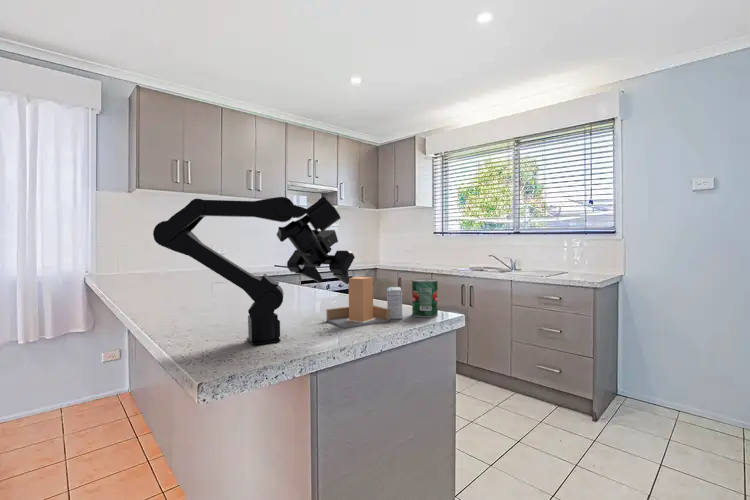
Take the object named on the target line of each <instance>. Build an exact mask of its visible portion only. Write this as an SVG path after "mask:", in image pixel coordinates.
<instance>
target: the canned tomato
mask: <svg viewBox="0 0 750 500" xmlns="http://www.w3.org/2000/svg"><path fill="white" fill-rule="evenodd" d="M438 282H439V281H438V279H436V278H413V279H411V293H412V297H411V307H412V309H411V311H412V312H411V313H412V314H411V315H412V317H416V318H434V317H435V318H436V317H437V316H438V315H439V314H438V311H439V310H438V306H439V303H438V302H439V299H438V297H439V296H438V294H439V293H438Z"/></svg>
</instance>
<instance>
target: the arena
mask: <svg viewBox="0 0 750 500" xmlns="http://www.w3.org/2000/svg"><path fill="white" fill-rule="evenodd" d="M325 311H326V322H328V323H331V324H333V325H335V326H338V327H339V328H342V329H348V328H354V327H355V328H356V327H360V326H361V327H362V326H368V325H375V324H381V323H389V322H391V319H390V309H387V307H383V306H379V305H375V304H373V319H370V320H367V321H364V322H362V321H354V320H349V306H342V307H333V308H326V310H325Z"/></svg>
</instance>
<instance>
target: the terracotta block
mask: <svg viewBox="0 0 750 500" xmlns="http://www.w3.org/2000/svg"><path fill="white" fill-rule="evenodd" d="M373 278H374V277H371V276H370V277H369V276H354V277H349V283H348V307H349V320H354V321H362V322H364V321H367V320H370V319H373V305H374V282H373V281H374V279H373Z"/></svg>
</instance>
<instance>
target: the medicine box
mask: <svg viewBox="0 0 750 500" xmlns="http://www.w3.org/2000/svg"><path fill="white" fill-rule="evenodd" d="M386 298H387V299H386V301H387V304H386V305H387V307H386V308H387V309H390V320H402V319H403V291H402V288H401V286H390V287H387V288H386Z"/></svg>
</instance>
